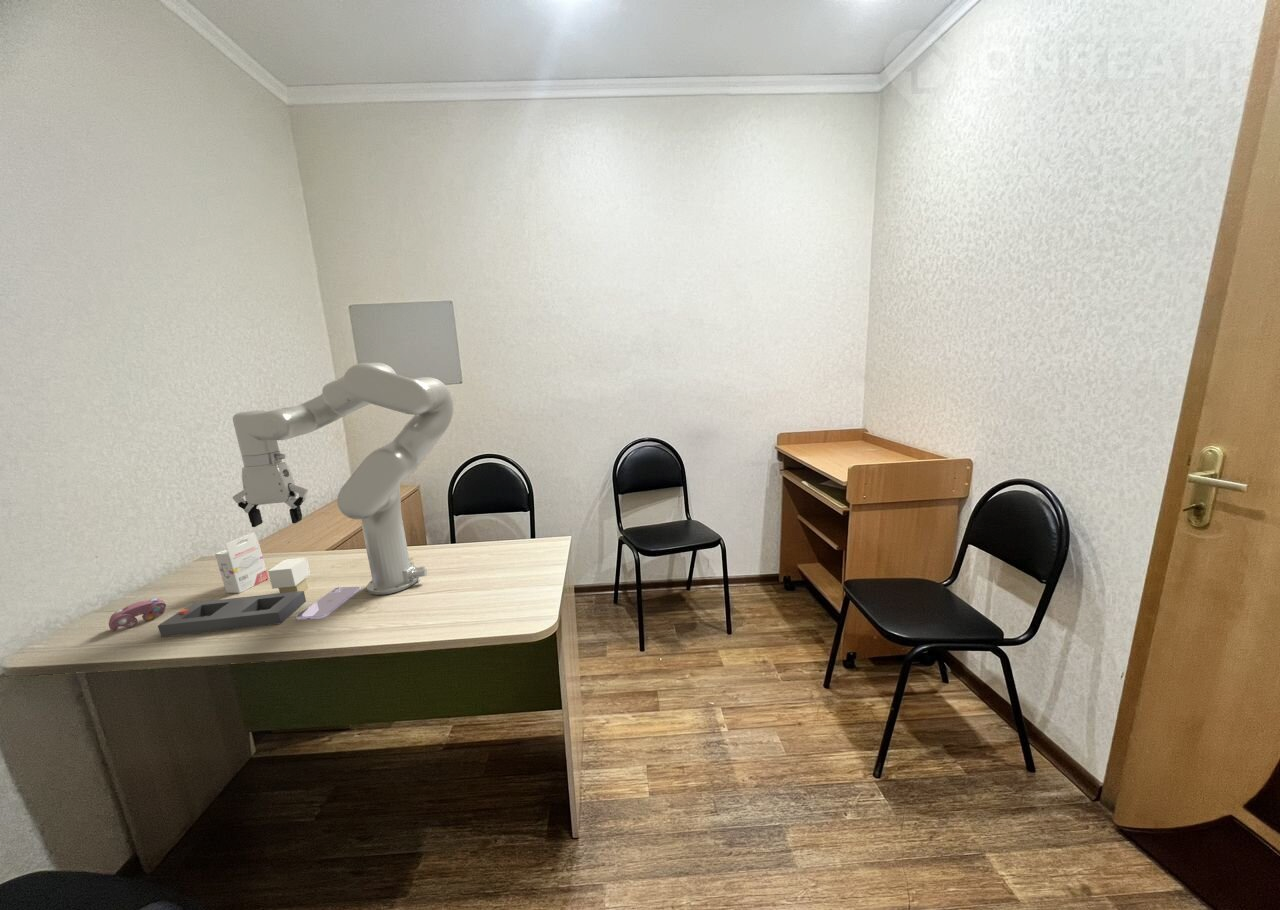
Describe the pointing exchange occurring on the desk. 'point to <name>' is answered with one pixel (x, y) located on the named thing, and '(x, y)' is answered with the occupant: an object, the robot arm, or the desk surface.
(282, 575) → the plug
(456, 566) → the desk surface
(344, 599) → the mobile phone
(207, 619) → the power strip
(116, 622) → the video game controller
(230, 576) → the ink cartridge box
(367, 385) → the robot arm
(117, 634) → the desk surface
